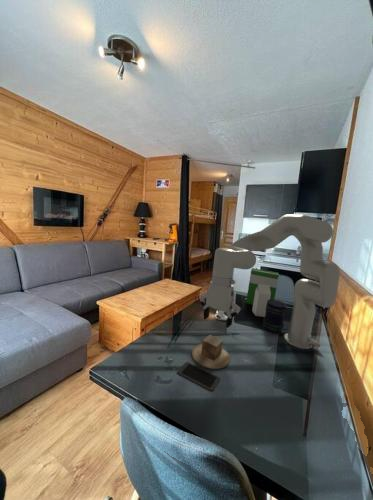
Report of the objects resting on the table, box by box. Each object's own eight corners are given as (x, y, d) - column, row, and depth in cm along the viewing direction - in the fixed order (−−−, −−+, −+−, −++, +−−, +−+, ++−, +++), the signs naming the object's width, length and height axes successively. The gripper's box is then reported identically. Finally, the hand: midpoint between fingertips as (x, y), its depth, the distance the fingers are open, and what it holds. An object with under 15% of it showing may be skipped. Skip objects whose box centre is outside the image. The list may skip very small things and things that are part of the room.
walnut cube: (221, 354, 88) (223, 340, 87) (214, 361, 83) (216, 346, 82) (208, 347, 91) (209, 334, 91) (200, 354, 86) (202, 340, 86)
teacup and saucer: (227, 322, 120) (228, 315, 119) (213, 319, 121) (214, 312, 121) (228, 316, 128) (228, 309, 128) (214, 313, 130) (215, 307, 129)
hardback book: (245, 303, 153) (251, 269, 149) (246, 299, 160) (251, 268, 156) (272, 309, 147) (278, 274, 144) (272, 305, 154) (278, 272, 151)
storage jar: (261, 329, 115) (265, 303, 113) (263, 323, 124) (268, 298, 122) (281, 336, 111) (286, 308, 109) (282, 328, 119) (287, 303, 117)
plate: (235, 355, 90) (235, 353, 90) (219, 375, 77) (219, 372, 77) (203, 341, 98) (203, 339, 98) (184, 356, 85) (185, 354, 85)
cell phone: (186, 363, 82) (186, 361, 82) (220, 379, 75) (221, 377, 75) (175, 373, 76) (176, 371, 76) (212, 393, 69) (212, 391, 69)
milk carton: (266, 317, 132) (272, 287, 129) (255, 316, 132) (260, 286, 130) (262, 312, 139) (267, 284, 137) (251, 311, 139) (256, 282, 137)
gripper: (247, 283, 81) (241, 326, 84) (206, 273, 91) (202, 312, 93) (240, 288, 75) (233, 334, 78) (197, 277, 85) (193, 318, 87)
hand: (216, 322), depth 86 cm, fingers open, 9 cm apart
